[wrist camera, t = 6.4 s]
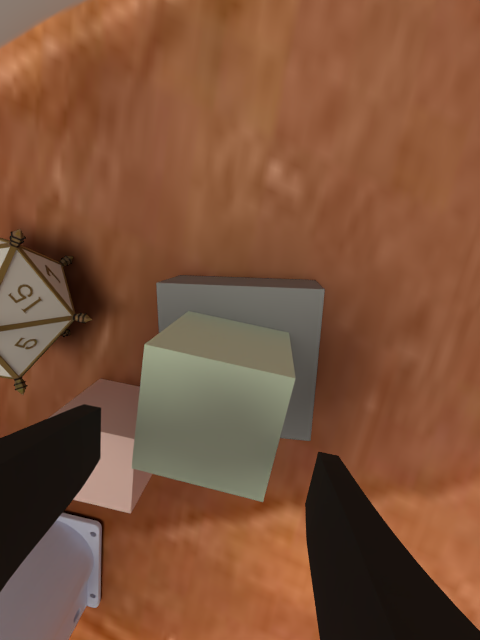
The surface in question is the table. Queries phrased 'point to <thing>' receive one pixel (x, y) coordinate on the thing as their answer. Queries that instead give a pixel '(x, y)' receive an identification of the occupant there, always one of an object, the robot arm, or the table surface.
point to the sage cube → (213, 403)
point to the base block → (259, 324)
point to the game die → (31, 306)
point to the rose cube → (113, 446)
